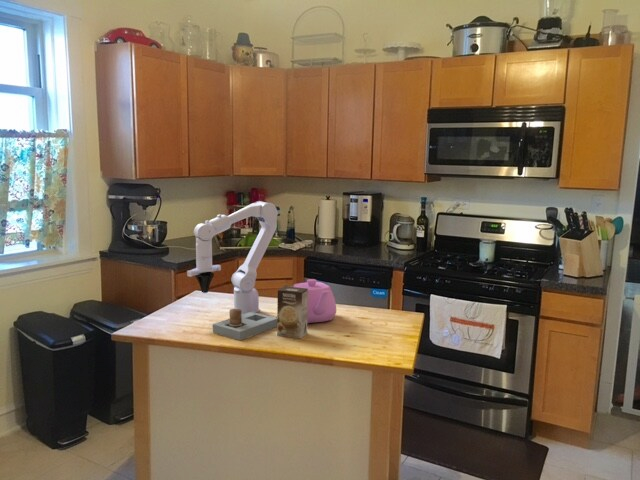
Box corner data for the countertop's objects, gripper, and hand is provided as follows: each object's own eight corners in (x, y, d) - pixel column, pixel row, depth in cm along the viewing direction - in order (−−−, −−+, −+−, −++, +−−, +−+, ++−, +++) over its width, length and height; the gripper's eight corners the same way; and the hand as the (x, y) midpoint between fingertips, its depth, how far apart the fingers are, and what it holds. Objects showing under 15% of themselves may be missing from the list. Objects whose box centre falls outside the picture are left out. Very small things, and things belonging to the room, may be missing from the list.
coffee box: (276, 335, 180) (276, 289, 177) (283, 330, 186) (283, 285, 183) (301, 339, 177) (301, 292, 174) (308, 333, 183) (308, 287, 180)
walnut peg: (236, 330, 185) (235, 308, 183) (244, 332, 182) (244, 310, 181) (227, 333, 182) (226, 310, 180) (235, 335, 179) (235, 312, 178)
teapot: (273, 316, 202) (273, 277, 199) (323, 310, 210) (324, 273, 208) (293, 334, 181) (293, 291, 179) (349, 327, 189) (349, 286, 187)
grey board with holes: (251, 319, 197) (251, 311, 197) (277, 326, 190) (277, 318, 189) (212, 332, 182) (212, 324, 182) (240, 340, 174) (239, 331, 174)
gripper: (196, 260, 186) (196, 298, 188) (226, 254, 198) (226, 290, 200) (182, 258, 190) (183, 294, 192) (213, 252, 202) (213, 287, 204)
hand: (204, 292), depth 196 cm, fingers closed
